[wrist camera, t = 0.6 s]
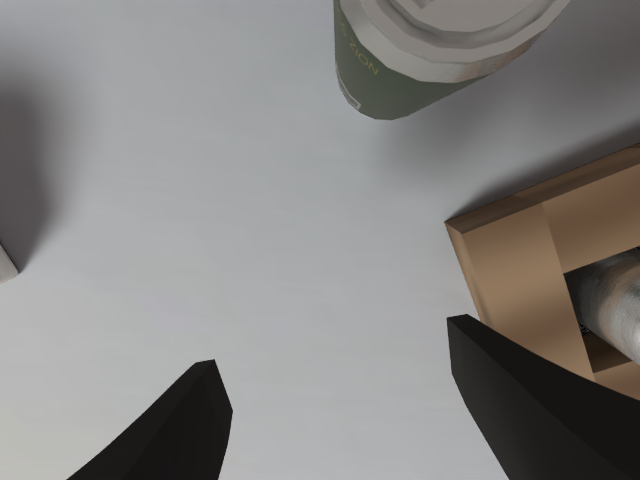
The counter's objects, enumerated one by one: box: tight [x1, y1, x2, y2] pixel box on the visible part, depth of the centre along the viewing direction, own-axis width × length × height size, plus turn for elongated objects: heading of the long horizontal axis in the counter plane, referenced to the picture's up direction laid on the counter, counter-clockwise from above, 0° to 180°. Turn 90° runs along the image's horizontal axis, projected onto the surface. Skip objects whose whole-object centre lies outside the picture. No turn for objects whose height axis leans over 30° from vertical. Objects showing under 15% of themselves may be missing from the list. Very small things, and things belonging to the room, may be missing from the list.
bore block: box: [444, 143, 640, 400], centre depth 19 cm, size 14×14×3 cm
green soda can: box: [333, 0, 571, 120], centre depth 12 cm, size 5×5×12 cm
